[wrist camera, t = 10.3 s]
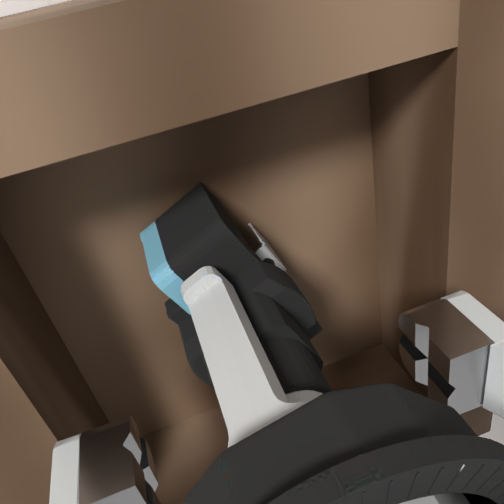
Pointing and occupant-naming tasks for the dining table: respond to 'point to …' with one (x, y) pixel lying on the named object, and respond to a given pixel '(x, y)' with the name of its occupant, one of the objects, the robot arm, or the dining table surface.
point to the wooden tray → (233, 197)
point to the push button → (298, 385)
